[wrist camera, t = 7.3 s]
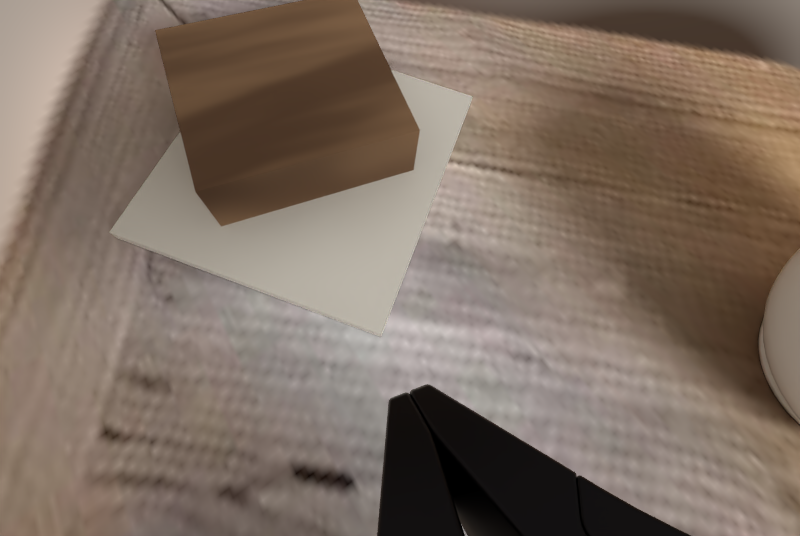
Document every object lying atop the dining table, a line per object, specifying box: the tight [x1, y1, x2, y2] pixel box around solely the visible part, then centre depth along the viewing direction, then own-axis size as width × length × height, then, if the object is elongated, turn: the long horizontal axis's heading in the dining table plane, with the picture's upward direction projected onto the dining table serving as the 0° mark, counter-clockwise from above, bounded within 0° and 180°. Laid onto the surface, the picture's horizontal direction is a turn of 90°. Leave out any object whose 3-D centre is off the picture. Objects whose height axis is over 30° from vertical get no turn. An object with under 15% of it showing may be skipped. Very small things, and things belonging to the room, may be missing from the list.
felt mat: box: [109, 70, 473, 337], centre depth 21 cm, size 13×14×1 cm
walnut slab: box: [155, 0, 420, 226], centre depth 20 cm, size 3×10×9 cm
